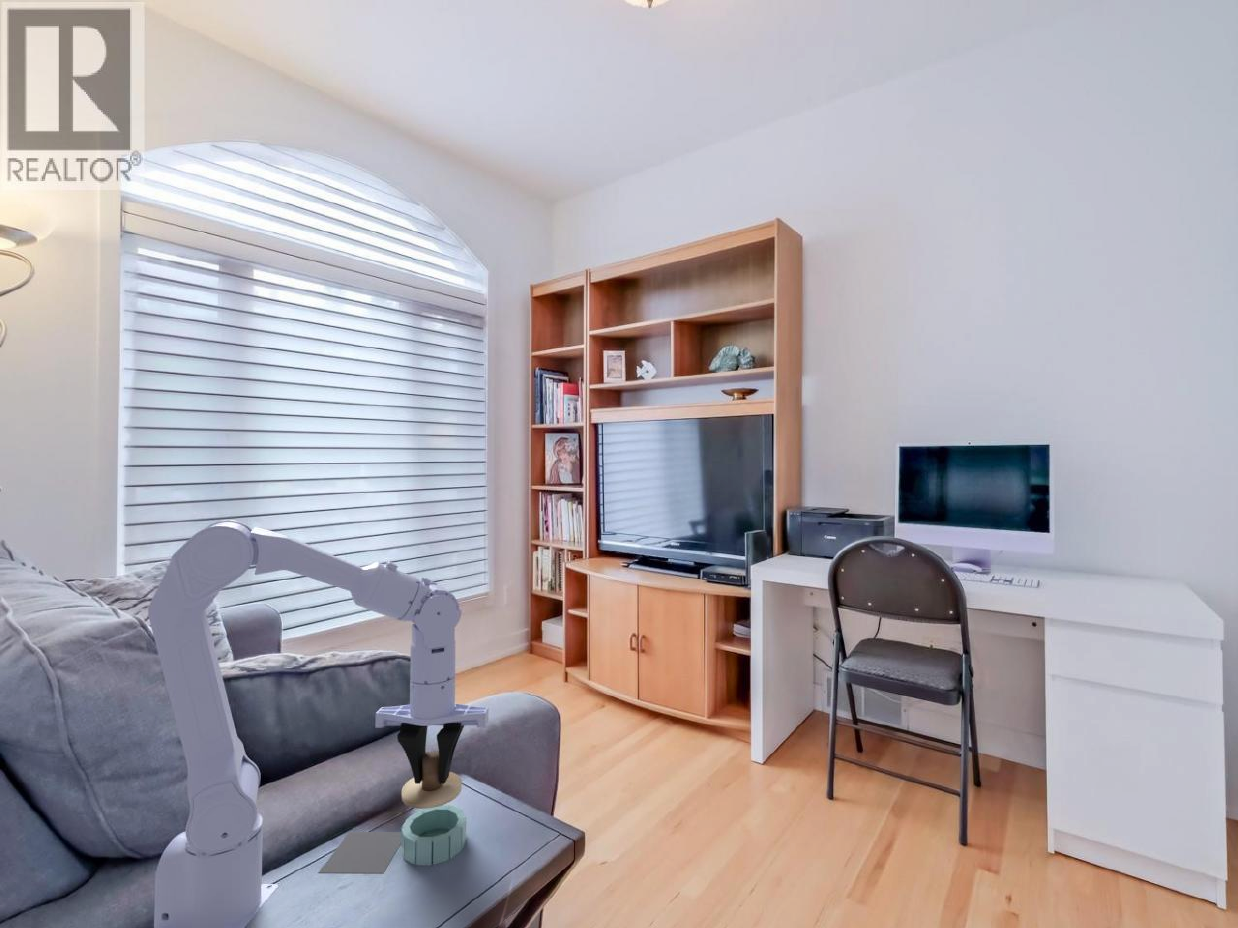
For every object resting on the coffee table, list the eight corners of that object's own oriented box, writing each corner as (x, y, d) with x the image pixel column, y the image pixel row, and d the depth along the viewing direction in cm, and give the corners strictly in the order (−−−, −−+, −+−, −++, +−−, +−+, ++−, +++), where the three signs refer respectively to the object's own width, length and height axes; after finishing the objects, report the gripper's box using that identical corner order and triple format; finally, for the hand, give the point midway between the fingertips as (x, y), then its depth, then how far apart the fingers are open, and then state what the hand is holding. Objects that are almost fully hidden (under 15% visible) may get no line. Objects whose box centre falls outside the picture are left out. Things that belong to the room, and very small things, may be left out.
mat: (318, 875, 70) (318, 872, 70) (349, 834, 78) (349, 831, 78) (383, 875, 70) (383, 872, 70) (407, 835, 78) (407, 832, 78)
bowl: (392, 867, 71) (392, 841, 71) (415, 828, 79) (415, 805, 79) (455, 868, 71) (455, 842, 71) (472, 828, 79) (472, 805, 79)
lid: (391, 808, 72) (392, 769, 72) (414, 776, 79) (415, 741, 79) (451, 809, 72) (451, 770, 72) (468, 776, 79) (468, 742, 79)
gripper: (493, 666, 80) (493, 764, 79) (390, 666, 80) (389, 764, 79) (481, 685, 73) (480, 792, 72) (368, 685, 73) (367, 792, 72)
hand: (432, 779), depth 75 cm, fingers closed on lid, 3 cm apart
